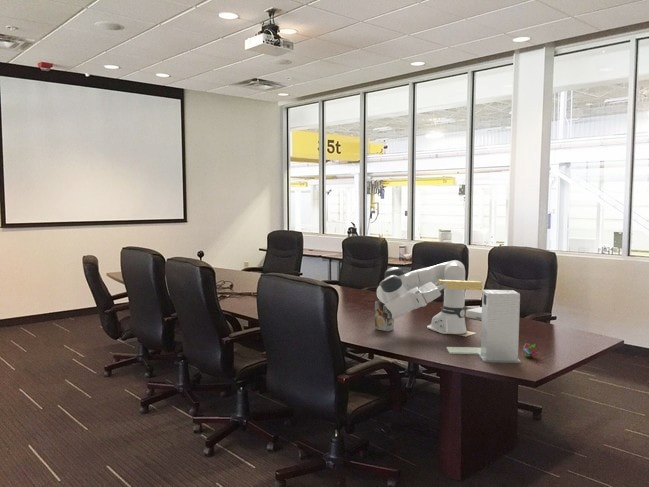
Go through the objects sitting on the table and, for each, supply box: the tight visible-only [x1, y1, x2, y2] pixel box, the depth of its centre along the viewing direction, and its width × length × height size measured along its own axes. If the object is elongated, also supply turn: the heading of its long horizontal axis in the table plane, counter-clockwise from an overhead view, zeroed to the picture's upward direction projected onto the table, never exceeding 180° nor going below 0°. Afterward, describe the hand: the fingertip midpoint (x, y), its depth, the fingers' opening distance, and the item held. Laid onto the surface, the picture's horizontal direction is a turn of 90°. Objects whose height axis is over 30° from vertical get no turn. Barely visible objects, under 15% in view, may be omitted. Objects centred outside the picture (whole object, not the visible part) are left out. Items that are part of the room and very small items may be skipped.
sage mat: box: [446, 346, 481, 355], centre depth 251 cm, size 22×9×1 cm, turn 87°
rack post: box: [477, 289, 522, 364], centre depth 238 cm, size 16×11×31 cm
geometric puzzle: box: [522, 342, 540, 360], centre depth 242 cm, size 7×7×8 cm
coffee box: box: [374, 299, 395, 332], centre depth 294 cm, size 9×6×16 cm
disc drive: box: [465, 306, 482, 321], centre depth 328 cm, size 18×22×5 cm
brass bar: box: [438, 280, 483, 291], centre depth 238 cm, size 19×4×4 cm, turn 87°
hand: (445, 283), depth 239 cm, fingers closed on brass bar, 3 cm apart
